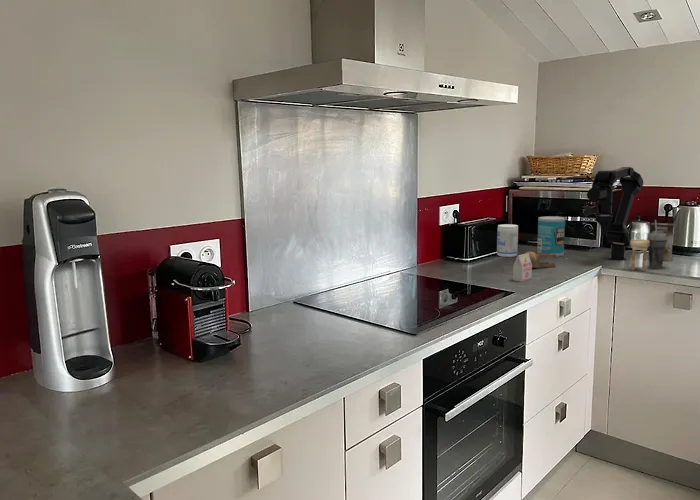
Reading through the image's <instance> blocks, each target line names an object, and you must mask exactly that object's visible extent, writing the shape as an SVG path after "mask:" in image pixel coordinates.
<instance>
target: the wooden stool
mask: <svg viewBox="0 0 700 500" xmlns="http://www.w3.org/2000/svg"><path fill="white" fill-rule="evenodd" d="M526 253H529V257H530V260H531V263H532V269H534V268H551V267H552V268H554V267H556V263H550V262H548V261H540V258H541V259H542V258H543V259H545V258H547V259H549V258H551V259H552V258H554V259H555V258H557V257H556V255H555V254H550V253H537V252H534V251H526V252H525V253H524V254H526Z"/></svg>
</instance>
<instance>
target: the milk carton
mask: <svg viewBox="0 0 700 500" xmlns="http://www.w3.org/2000/svg"><path fill="white" fill-rule="evenodd" d="M525 253H526V252H525ZM525 253H523V254H519V255H518V254H517V256H516V258H515V261H514V263H513V265H512V267H513V268H512V269H513V270H512V271H513V272H512V280H513V281H515V282H522V283H523V282H524V281H529V280H532V279H533V277H532V276H533V275H532V273H533V272H532V270H533V268H532V263H531V260H530V257H529V253H526V254H525Z"/></svg>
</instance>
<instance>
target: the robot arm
mask: <svg viewBox="0 0 700 500" xmlns="http://www.w3.org/2000/svg"><path fill="white" fill-rule="evenodd" d="M618 180H619V183H620V185H621V187H620V189H621V191H622V196H621V199H620V203H619V206H618V208H617V209H618V210H617V213H616V216H615V220H614V222H613V223H612V221H613V212H612V211H613V210H612V209H613V196H614V195H613V190H614V189H615V188H616V187H615V186H614V184H615V183H617V181H618ZM643 186H644V178H643V177H642V176H641V174H640V173H639V172H637V171H636V170H635V169H634V168H633V167H632V166H622V167H619V168H617V169H616V168H615V169H612V170H598V171H597V173H596V174H595V176H594V179H593V181H592V184H591V188H589V189H588V190H587V193H586V196H587V199H588V200H589V202H596V205H594V206H585V208H584V209H582V212H583V215H584V217H586V218H587V217H589V216H591V215H594V214H595V218H594V219H595V222H597V223H598V224H599V228H600V233H601V237H605V243H606V245H608V246H609V245H610V255H609V260H621V261H622V260H623V261H625V260H626V259H627V258H626V255H625V254H626V253H625V252H626V247H630V246H631V245H630V240H631V239H630V237H629V234H628V233H629V231H628V228H627V223H628V220H629V216H630V213H631V209H632V207H633V202H634V199H635V196H637V195H638V194H639V193H640V192H641V190H642V188H643Z"/></svg>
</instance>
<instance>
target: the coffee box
mask: <svg viewBox="0 0 700 500" xmlns="http://www.w3.org/2000/svg"><path fill="white" fill-rule="evenodd" d="M656 225H657V230H659V231H662V232H664V233H665V235H666V237H667V243H666V246H665V251H664V257H663V262H671V261H672V256H673V254H672V253H673V240H674V231H675V230H674V229H675V223H669V222H668V223H665V222H663V223H662V222H656ZM649 227H650V231H649V234H650V233H651V232H653V231H655V222H651V223H650V226H649ZM647 254H648V255H647V260H648V261H649V253H647Z"/></svg>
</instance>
